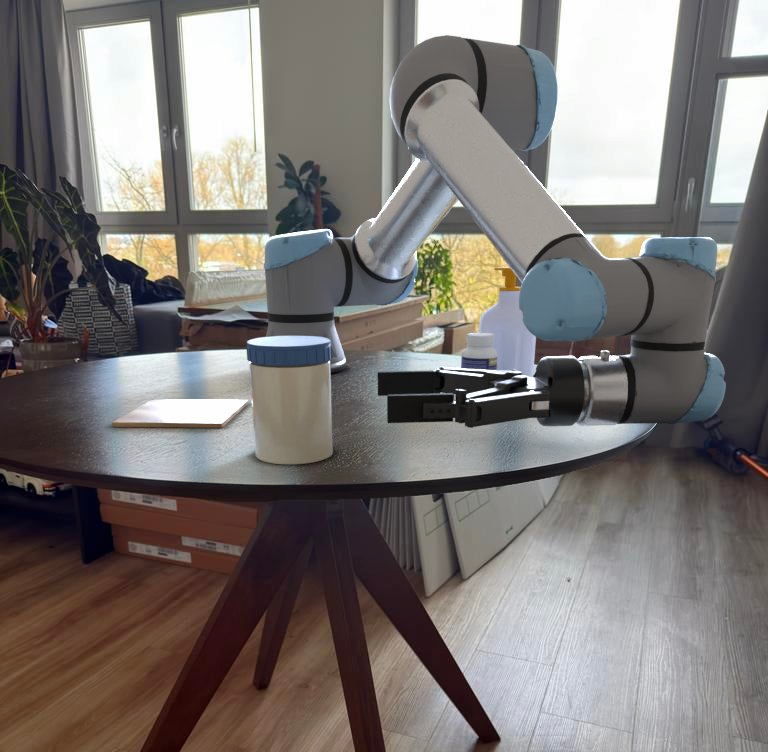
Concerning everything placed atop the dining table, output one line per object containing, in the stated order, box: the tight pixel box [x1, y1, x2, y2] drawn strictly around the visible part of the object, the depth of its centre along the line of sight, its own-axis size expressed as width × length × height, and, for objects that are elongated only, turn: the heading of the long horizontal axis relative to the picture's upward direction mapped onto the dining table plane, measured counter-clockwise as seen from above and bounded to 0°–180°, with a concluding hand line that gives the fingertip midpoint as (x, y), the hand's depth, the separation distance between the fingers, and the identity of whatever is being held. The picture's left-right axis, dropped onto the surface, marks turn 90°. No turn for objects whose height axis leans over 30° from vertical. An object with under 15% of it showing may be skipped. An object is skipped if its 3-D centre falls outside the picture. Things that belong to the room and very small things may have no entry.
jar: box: [248, 360, 334, 465], centre depth 77 cm, size 8×8×12 cm
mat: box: [111, 398, 249, 429], centre depth 97 cm, size 14×14×1 cm
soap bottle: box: [478, 266, 537, 377], centre depth 113 cm, size 9×9×25 cm
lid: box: [246, 336, 332, 366], centre depth 75 cm, size 9×9×2 cm
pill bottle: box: [460, 332, 497, 370], centre depth 107 cm, size 5×5×9 cm
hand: (381, 395), depth 77 cm, fingers open, 13 cm apart
